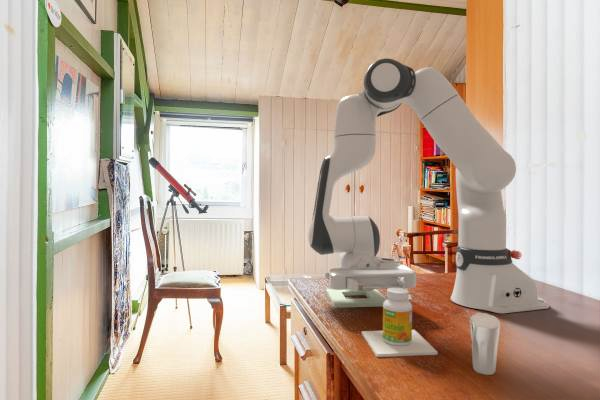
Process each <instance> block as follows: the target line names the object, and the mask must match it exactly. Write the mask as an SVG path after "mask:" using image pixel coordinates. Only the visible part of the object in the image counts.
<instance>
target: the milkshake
mask: <svg viewBox="0 0 600 400" xmlns="http://www.w3.org/2000/svg"><path fill="white" fill-rule="evenodd" d="M465 310H466V313H467V316H468V318H469V320H468V321H469V329H470V340H471V357H472V358H471V359H472V360H471V361H472V368H473V371H474V372H476V373H478V374H479V375H480V374H481V375H485V376H490V375H491V376H492V375H494V374H496V368H497V357H498V349H499V348H498V347H499V339H500V330H501V321H500V320H499V318H498V317H496V316H494V315H493V314H492V315H491V314H489V313H486V312H485V313H483V312H476V313H475V314H472V316H471V315H470V313H469V311H468V310H467V309H465Z"/></svg>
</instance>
